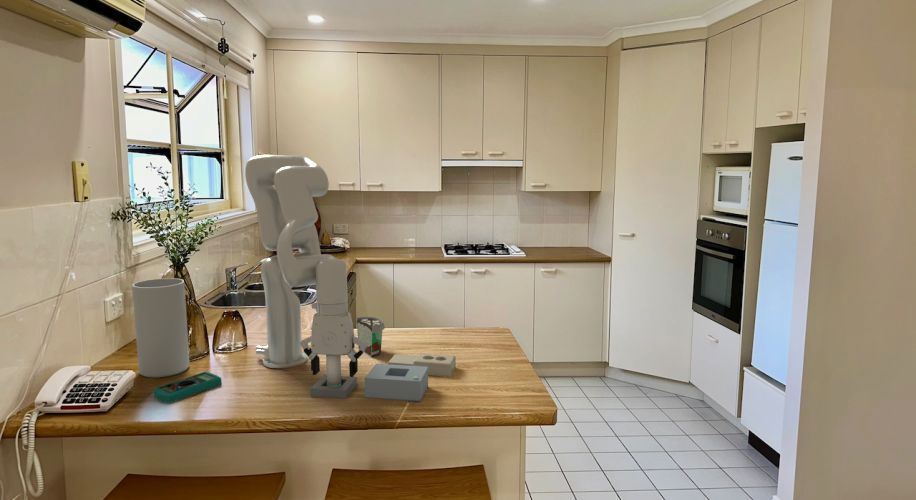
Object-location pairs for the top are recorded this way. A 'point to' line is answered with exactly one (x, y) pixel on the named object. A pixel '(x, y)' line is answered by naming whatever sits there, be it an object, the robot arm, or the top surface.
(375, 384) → the port block
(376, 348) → the food container
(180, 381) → the digital multimeter
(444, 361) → the electrical outlet
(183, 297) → the cylinder vase
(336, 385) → the plug
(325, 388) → the grey square socket base
